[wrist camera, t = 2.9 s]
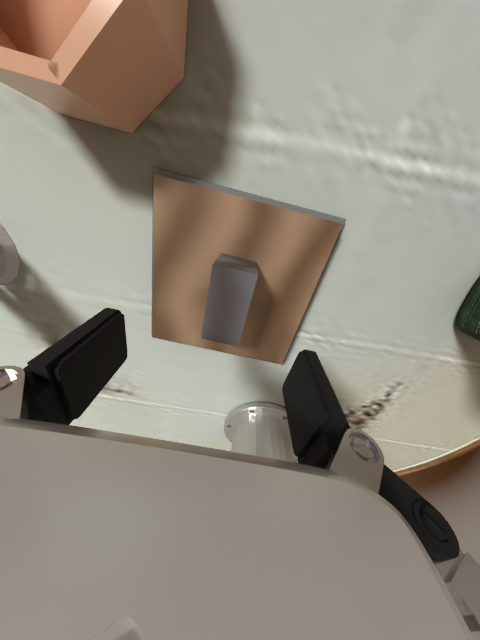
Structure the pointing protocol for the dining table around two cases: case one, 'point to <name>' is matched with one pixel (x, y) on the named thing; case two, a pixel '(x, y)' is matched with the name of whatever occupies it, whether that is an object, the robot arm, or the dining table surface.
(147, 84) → the bowl
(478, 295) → the coffee jar
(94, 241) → the dining table surface
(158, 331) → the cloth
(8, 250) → the lantern
